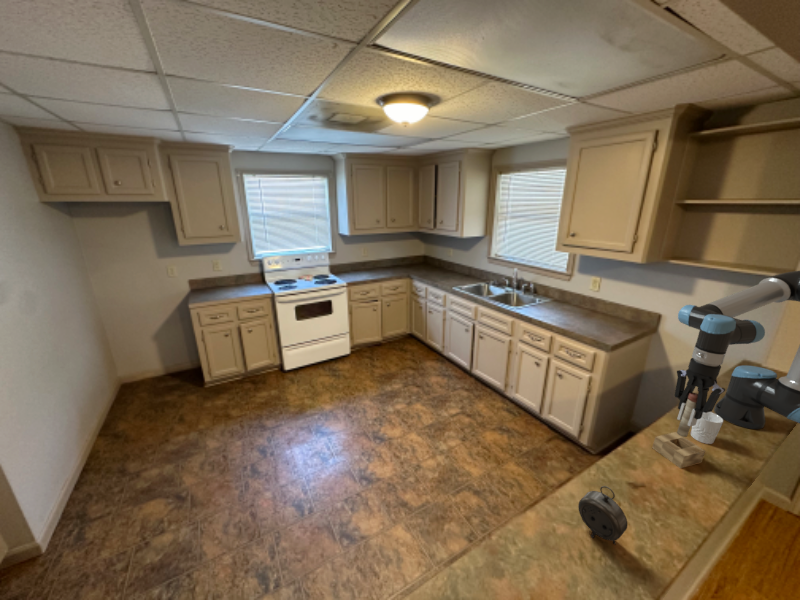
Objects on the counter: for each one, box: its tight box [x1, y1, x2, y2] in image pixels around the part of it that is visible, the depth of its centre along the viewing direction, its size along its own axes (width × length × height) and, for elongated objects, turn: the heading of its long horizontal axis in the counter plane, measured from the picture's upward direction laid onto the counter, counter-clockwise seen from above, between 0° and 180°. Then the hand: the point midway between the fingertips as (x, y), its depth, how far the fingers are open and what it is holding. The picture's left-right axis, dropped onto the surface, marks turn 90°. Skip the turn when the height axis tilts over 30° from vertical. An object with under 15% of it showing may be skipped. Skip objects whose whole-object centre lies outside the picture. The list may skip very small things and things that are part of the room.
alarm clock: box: [577, 485, 628, 546], centre depth 89 cm, size 11×5×16 cm, turn 34°
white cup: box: [690, 411, 724, 445], centre depth 127 cm, size 8×8×10 cm
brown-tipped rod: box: [676, 391, 698, 438], centre depth 115 cm, size 3×3×16 cm
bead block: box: [652, 431, 706, 469], centre depth 119 cm, size 10×10×5 cm
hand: (686, 421), depth 115 cm, fingers closed on brown-tipped rod, 3 cm apart
